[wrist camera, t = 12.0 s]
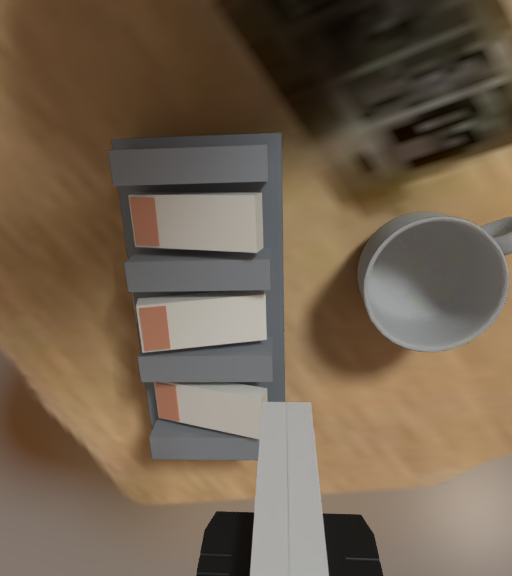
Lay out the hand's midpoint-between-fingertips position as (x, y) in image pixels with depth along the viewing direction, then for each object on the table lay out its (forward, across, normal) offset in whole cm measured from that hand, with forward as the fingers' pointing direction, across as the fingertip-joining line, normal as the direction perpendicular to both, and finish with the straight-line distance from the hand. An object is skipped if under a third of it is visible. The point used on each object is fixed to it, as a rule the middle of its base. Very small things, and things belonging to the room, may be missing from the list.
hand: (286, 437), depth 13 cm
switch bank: (+27, -6, -5) cm, 28 cm away
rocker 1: (+20, -7, +3) cm, 21 cm away
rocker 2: (+20, -6, -5) cm, 21 cm away
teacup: (+28, +13, -2) cm, 31 cm away
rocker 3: (+19, -6, -13) cm, 24 cm away
